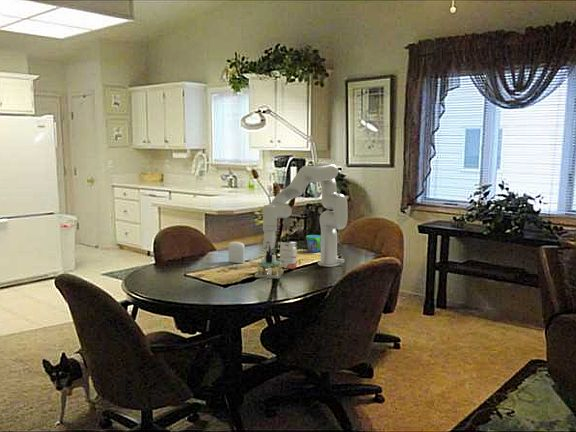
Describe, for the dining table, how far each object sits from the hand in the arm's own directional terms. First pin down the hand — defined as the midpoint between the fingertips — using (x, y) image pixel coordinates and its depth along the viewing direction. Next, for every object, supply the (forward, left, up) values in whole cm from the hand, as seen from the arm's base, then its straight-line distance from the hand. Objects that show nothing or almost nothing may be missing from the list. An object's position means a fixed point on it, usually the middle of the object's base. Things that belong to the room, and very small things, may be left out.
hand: (269, 261), depth 303 cm
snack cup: (-16, -67, -8) cm, 69 cm away
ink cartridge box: (-7, -19, -8) cm, 22 cm away
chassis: (0, 0, -7) cm, 7 cm away
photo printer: (+25, -25, -8) cm, 36 cm away
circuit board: (0, 0, -1) cm, 1 cm away
